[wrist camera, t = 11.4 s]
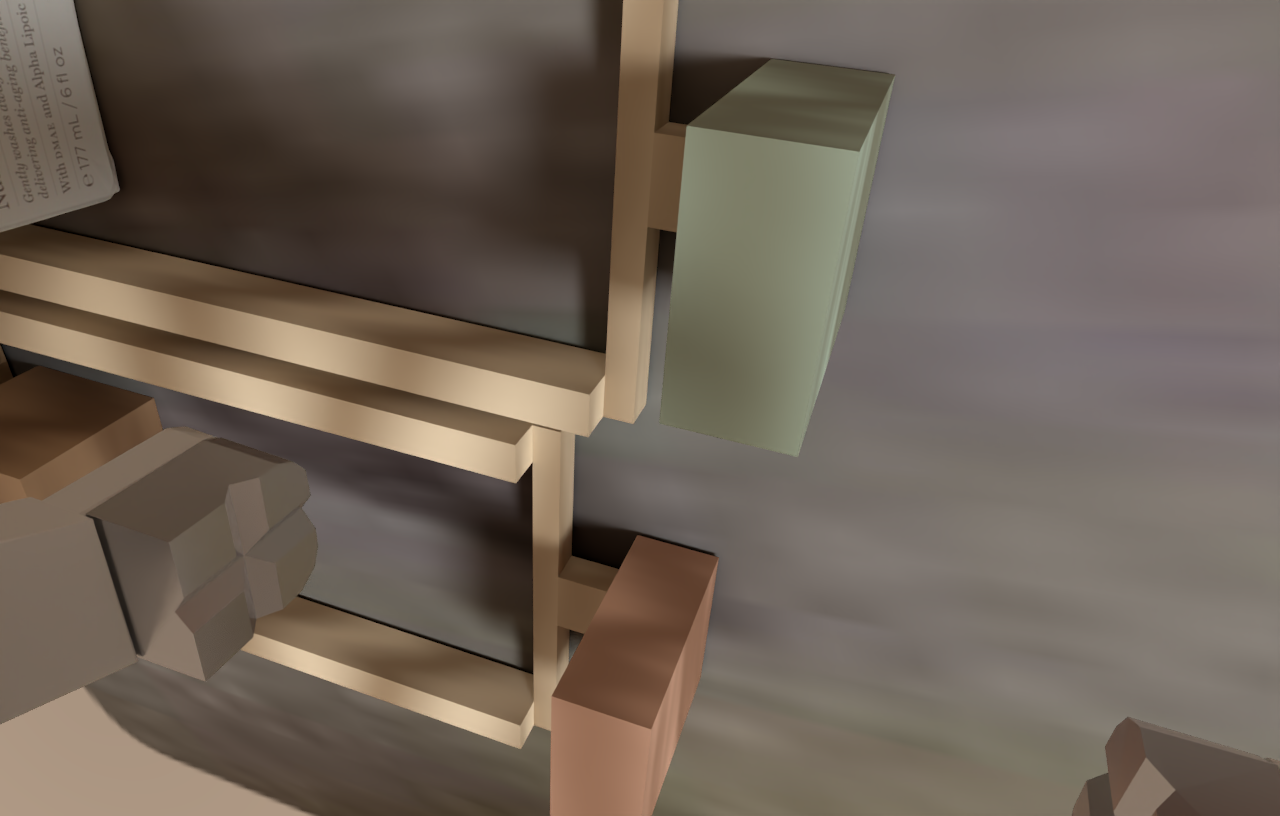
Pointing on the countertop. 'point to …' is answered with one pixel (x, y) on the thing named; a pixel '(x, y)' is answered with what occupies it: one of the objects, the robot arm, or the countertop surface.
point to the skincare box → (48, 116)
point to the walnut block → (65, 430)
